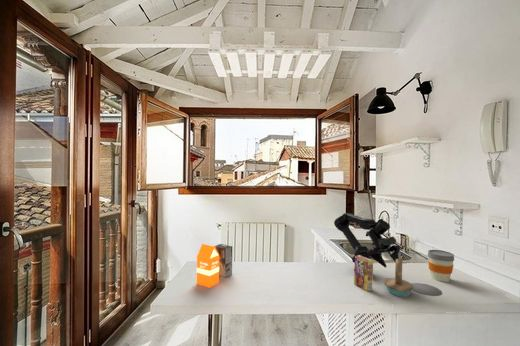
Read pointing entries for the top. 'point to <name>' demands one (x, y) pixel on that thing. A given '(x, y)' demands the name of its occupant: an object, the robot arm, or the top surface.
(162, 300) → the top surface
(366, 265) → the candy box
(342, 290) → the top surface
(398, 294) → the bowl
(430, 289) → the mat
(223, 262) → the coffee box
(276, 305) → the top surface
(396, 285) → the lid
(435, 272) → the reusable coffee cup
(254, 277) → the top surface
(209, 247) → the orange juice
